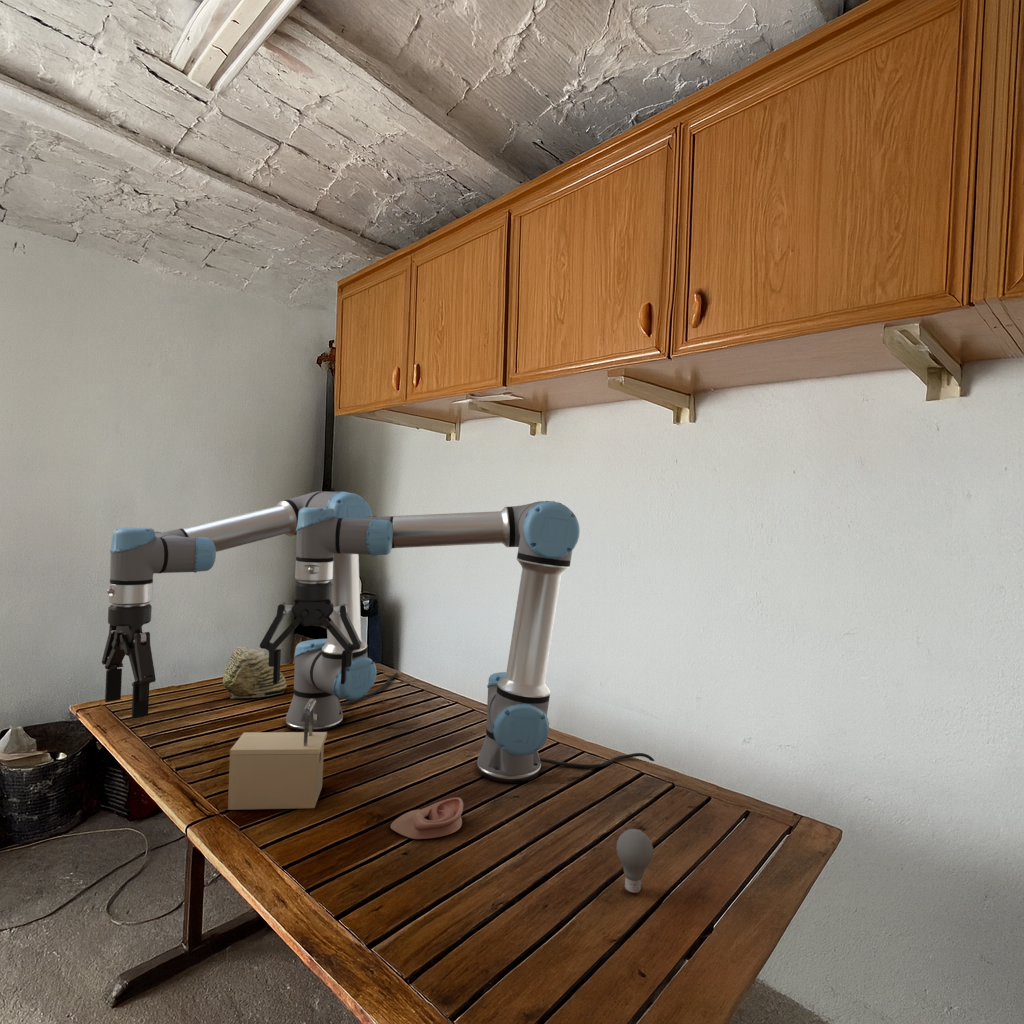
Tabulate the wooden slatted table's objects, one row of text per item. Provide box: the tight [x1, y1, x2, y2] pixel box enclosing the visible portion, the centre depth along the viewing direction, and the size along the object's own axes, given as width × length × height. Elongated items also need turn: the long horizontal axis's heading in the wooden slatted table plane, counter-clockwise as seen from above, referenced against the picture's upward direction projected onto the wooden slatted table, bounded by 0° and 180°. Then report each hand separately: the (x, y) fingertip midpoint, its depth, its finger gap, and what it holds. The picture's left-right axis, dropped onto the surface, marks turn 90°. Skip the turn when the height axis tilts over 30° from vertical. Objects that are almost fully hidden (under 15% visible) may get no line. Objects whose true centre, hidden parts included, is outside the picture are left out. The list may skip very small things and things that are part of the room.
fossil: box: [222, 646, 288, 699], centre depth 198 cm, size 9×18×15 cm, turn 132°
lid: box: [229, 698, 328, 756], centre depth 132 cm, size 17×10×9 cm, turn 98°
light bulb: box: [615, 828, 654, 894], centre depth 106 cm, size 6×6×10 cm
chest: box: [227, 744, 325, 811], centre depth 132 cm, size 17×10×11 cm, turn 98°
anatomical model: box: [390, 797, 464, 840], centre depth 124 cm, size 13×4×12 cm
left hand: (125, 708), depth 128 cm, fingers open, 13 cm apart
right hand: (310, 682), depth 133 cm, fingers open, 13 cm apart
